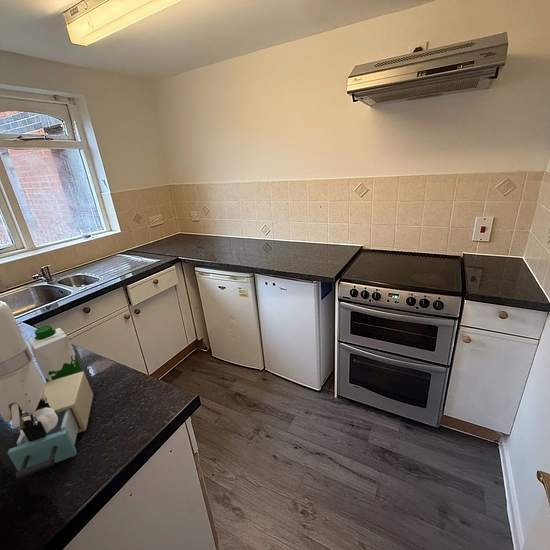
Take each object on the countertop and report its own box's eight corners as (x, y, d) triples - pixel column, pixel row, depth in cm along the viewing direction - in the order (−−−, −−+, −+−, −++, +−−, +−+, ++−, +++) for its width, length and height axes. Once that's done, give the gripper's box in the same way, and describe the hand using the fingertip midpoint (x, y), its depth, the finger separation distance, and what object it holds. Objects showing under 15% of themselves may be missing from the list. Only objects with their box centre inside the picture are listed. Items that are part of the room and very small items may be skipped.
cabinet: (85, 430, 75) (74, 403, 72) (30, 449, 71) (16, 422, 68) (93, 395, 87) (83, 371, 83) (46, 410, 83) (34, 385, 80)
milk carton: (81, 374, 96) (58, 320, 89) (90, 386, 90) (67, 329, 83) (49, 390, 90) (22, 333, 83) (56, 403, 85) (28, 344, 77)
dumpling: (60, 415, 71) (57, 403, 69) (58, 434, 67) (56, 422, 65) (22, 424, 67) (18, 412, 65) (18, 445, 63) (14, 433, 61)
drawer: (71, 474, 63) (60, 451, 60) (11, 498, 59) (-3, 474, 57) (85, 415, 78) (76, 395, 76) (38, 431, 75) (27, 411, 72)
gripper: (2, 345, 66) (34, 408, 73) (-38, 395, 51) (6, 468, 58) (42, 335, 69) (69, 396, 75) (15, 380, 54) (51, 452, 60)
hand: (41, 427), depth 66 cm, fingers closed on dumpling, 5 cm apart
